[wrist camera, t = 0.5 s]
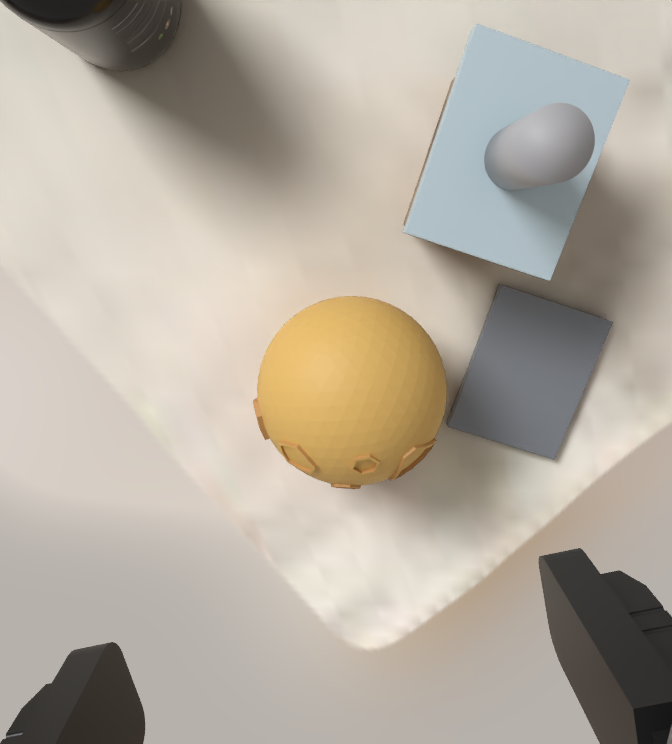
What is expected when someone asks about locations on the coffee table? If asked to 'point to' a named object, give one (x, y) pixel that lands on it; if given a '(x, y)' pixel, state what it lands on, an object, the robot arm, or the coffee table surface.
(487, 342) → the slate mat
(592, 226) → the coffee table surface
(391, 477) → the stress ball
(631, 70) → the coffee table surface
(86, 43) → the supplement bottle
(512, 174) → the lid
